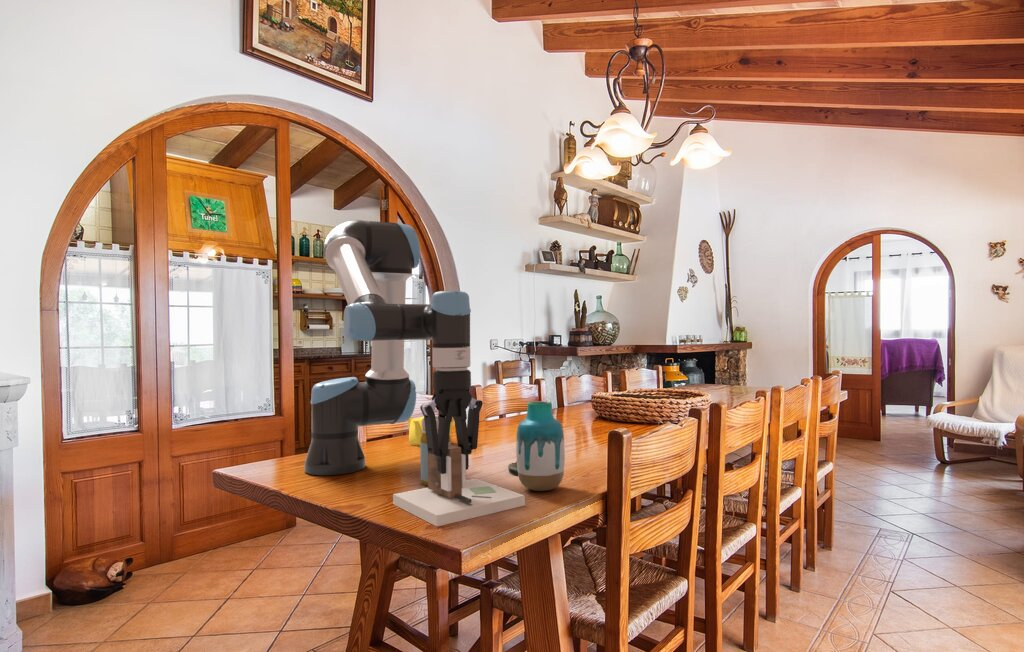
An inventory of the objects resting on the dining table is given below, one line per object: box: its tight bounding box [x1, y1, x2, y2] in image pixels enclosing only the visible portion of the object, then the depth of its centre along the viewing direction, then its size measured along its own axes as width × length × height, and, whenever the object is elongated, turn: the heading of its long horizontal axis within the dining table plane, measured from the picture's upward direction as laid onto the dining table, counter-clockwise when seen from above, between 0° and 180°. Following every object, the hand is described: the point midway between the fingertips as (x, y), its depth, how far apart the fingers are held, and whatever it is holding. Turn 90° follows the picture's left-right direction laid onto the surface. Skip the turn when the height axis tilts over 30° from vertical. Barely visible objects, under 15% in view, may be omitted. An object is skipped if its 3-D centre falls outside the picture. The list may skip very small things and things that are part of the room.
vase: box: [515, 400, 566, 492], centre depth 126 cm, size 11×11×19 cm
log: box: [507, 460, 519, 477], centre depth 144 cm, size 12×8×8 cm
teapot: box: [407, 416, 455, 447], centre depth 183 cm, size 15×14×10 cm
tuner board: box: [392, 478, 526, 527], centre depth 116 cm, size 18×20×2 cm
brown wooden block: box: [427, 443, 471, 503], centre depth 114 cm, size 14×4×10 cm, turn 37°
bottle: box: [419, 416, 452, 487], centre depth 133 cm, size 7×7×15 cm
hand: (453, 487), depth 114 cm, fingers closed on brown wooden block, 3 cm apart
